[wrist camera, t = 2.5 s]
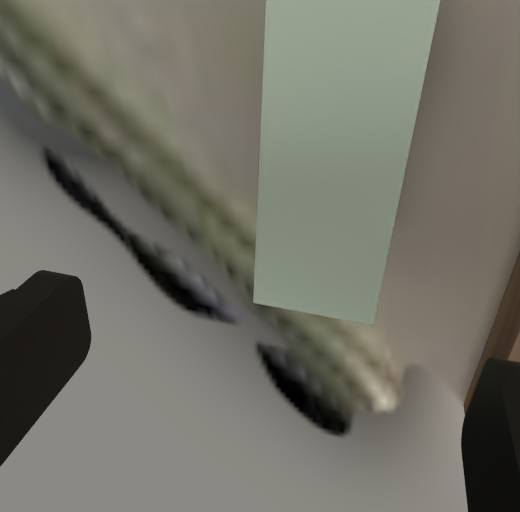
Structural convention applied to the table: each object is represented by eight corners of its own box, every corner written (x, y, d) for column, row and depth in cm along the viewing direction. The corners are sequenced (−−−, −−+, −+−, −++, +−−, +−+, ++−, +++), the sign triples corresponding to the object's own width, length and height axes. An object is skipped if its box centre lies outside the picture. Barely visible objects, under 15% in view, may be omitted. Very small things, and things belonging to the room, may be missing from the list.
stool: (430, -25, 22) (442, -13, 14) (384, 216, 28) (373, 325, 20) (318, -32, 23) (267, -23, 15) (297, 204, 29) (253, 302, 21)
